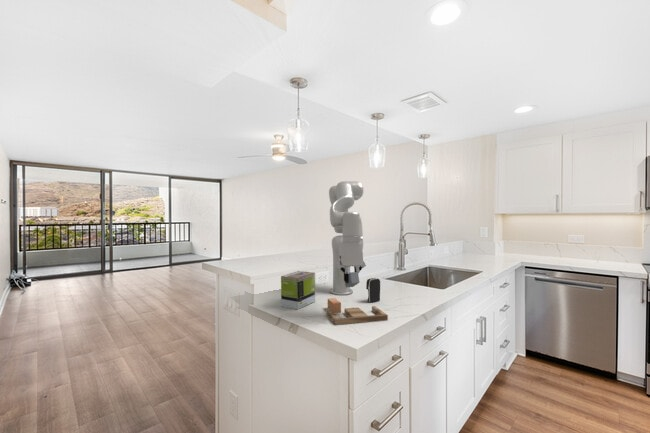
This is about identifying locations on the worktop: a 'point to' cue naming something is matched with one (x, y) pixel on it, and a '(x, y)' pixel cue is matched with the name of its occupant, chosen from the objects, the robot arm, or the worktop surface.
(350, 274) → the grey stub
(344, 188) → the robot arm
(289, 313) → the worktop surface
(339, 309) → the terracotta stub
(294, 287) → the tea box
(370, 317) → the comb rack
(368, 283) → the battery charger
